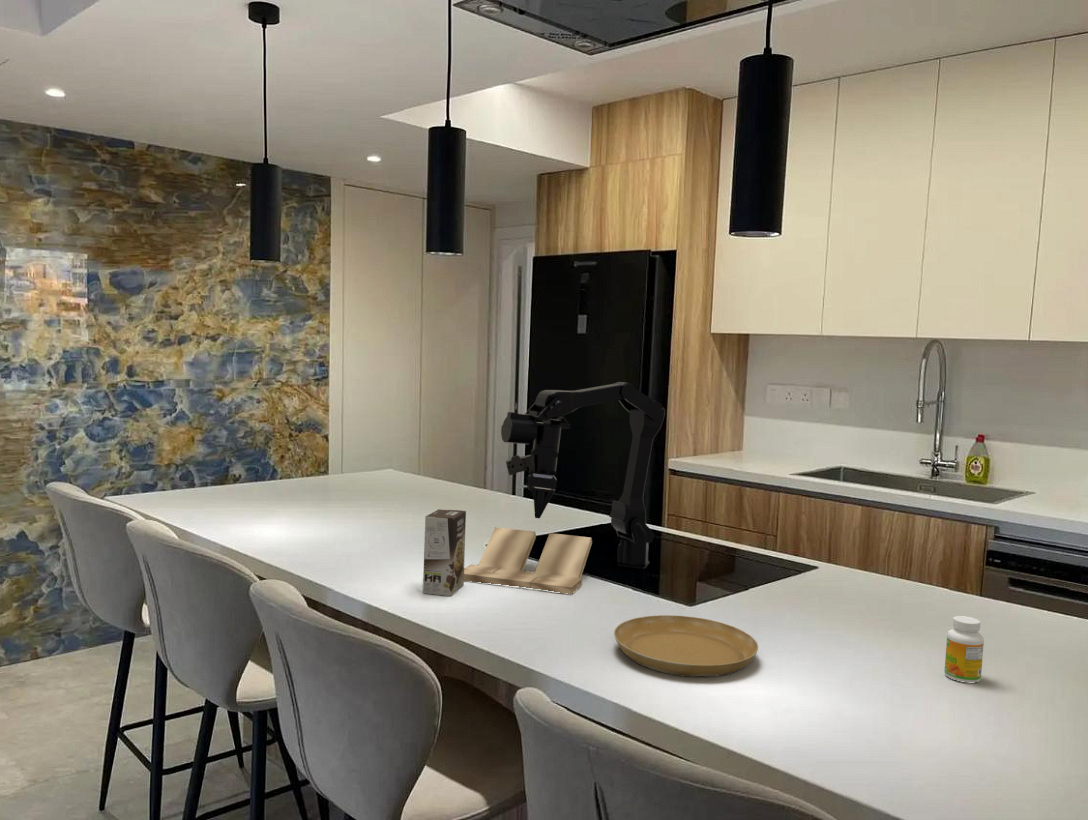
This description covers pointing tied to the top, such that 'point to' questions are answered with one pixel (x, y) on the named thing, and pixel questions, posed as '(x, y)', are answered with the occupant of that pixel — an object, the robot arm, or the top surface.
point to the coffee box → (444, 552)
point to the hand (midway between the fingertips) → (537, 514)
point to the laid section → (522, 579)
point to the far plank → (508, 549)
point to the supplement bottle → (964, 650)
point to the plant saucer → (685, 645)
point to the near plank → (564, 555)
